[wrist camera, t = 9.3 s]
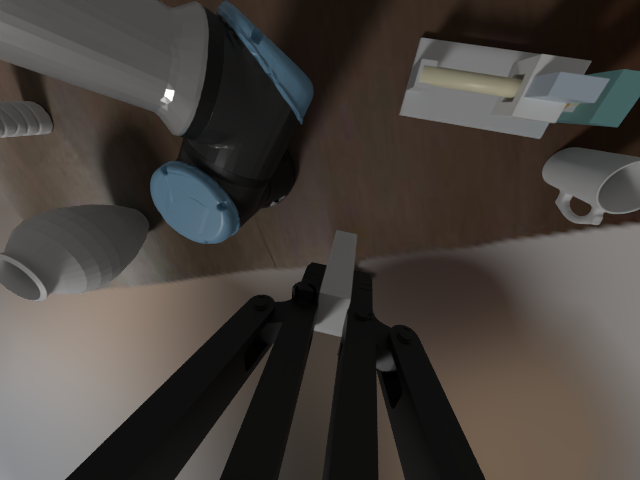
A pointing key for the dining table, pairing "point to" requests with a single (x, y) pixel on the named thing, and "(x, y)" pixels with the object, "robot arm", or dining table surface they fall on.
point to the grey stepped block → (548, 88)
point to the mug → (594, 182)
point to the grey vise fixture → (498, 90)
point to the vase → (71, 250)
